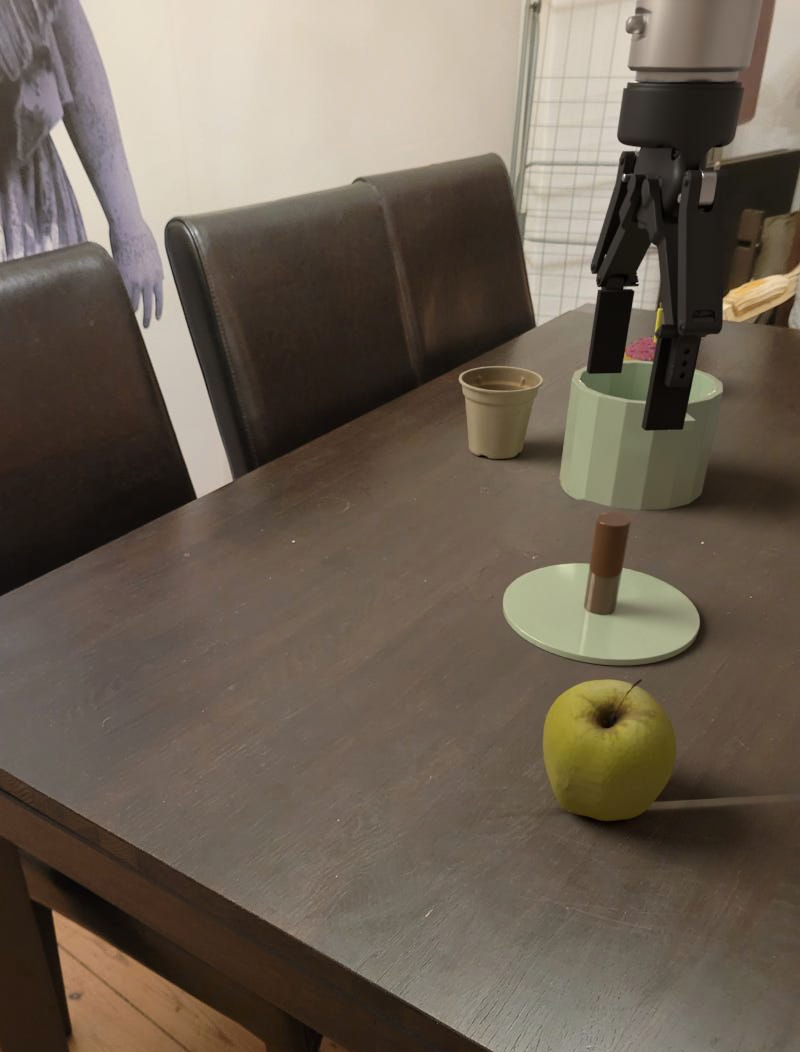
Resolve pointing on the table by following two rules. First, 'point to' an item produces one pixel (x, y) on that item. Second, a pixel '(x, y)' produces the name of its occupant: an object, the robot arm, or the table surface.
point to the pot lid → (602, 606)
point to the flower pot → (498, 408)
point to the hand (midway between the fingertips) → (630, 398)
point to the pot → (635, 441)
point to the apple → (608, 749)
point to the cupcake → (644, 344)
